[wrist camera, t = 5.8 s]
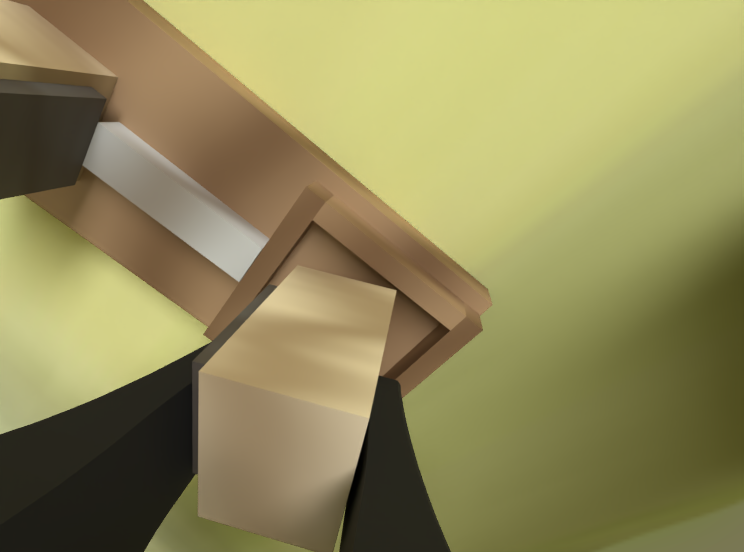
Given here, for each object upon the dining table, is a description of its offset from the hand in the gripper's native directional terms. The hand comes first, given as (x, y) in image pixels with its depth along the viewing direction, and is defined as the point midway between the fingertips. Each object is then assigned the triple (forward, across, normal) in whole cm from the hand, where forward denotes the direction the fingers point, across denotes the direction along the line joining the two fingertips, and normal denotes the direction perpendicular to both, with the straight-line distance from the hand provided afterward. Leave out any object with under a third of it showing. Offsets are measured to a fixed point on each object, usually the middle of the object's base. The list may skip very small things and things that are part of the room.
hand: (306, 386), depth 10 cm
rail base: (+5, +5, -2) cm, 7 cm away
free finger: (+2, 0, 0) cm, 2 cm away
